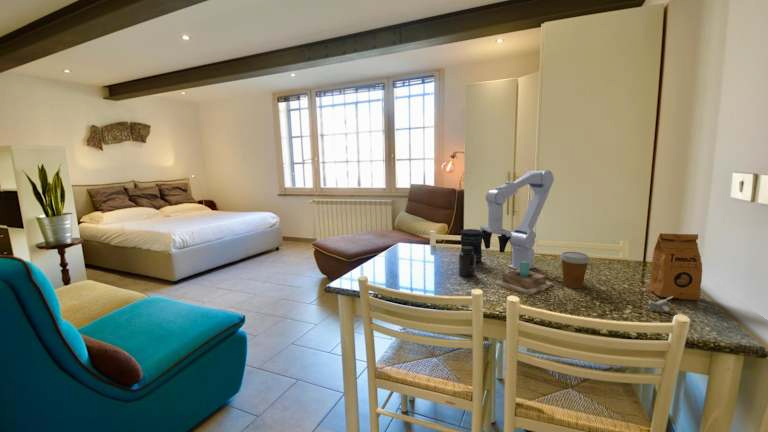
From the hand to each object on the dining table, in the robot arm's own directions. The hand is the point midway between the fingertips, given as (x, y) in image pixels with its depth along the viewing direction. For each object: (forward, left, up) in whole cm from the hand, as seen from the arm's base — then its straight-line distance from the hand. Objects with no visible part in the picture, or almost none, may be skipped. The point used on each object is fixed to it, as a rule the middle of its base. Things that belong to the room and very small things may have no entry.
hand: (494, 250), depth 143 cm
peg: (+2, +16, -9) cm, 18 cm away
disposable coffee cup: (-12, +27, -10) cm, 31 cm away
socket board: (+2, +16, -10) cm, 19 cm away
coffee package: (-29, +52, -10) cm, 60 cm away
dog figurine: (-12, +54, -10) cm, 56 cm away
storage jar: (-4, -17, -10) cm, 20 cm away
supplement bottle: (+11, -5, -10) cm, 16 cm away
